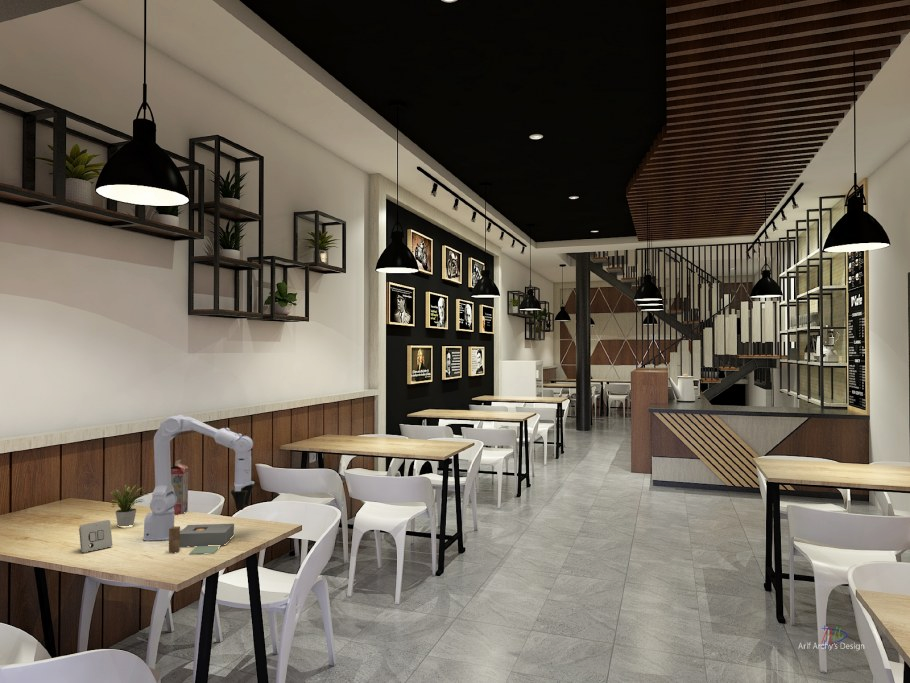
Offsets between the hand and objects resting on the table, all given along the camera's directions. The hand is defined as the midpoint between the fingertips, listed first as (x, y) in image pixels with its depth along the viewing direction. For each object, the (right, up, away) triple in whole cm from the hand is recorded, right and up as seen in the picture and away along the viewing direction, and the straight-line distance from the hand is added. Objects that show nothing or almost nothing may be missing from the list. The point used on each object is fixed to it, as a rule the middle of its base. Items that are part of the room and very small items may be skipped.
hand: (242, 507), depth 221 cm
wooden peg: (-16, -9, -20) cm, 27 cm away
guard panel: (-10, -10, -8) cm, 16 cm away
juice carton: (-40, -12, +34) cm, 53 cm away
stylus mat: (-6, -9, -19) cm, 22 cm away
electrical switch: (-44, -10, -17) cm, 48 cm away
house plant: (-49, -11, +11) cm, 52 cm away
